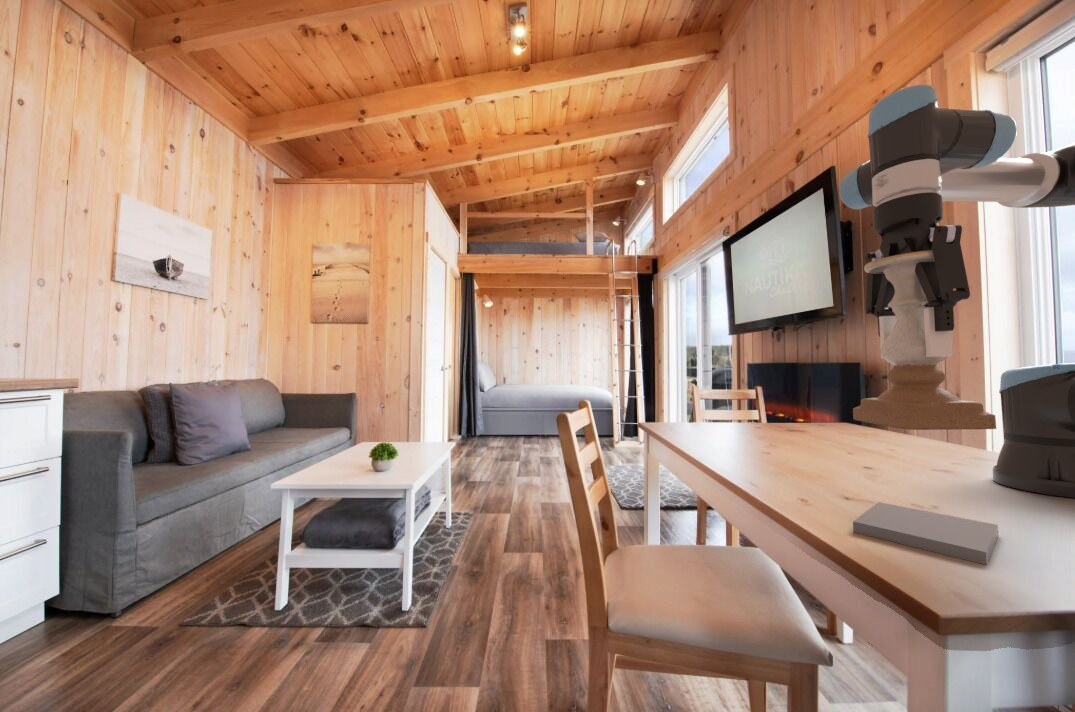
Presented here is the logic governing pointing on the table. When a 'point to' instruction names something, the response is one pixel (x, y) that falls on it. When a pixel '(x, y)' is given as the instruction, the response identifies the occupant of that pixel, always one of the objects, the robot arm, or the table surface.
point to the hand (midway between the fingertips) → (914, 357)
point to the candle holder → (915, 362)
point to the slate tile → (929, 531)
